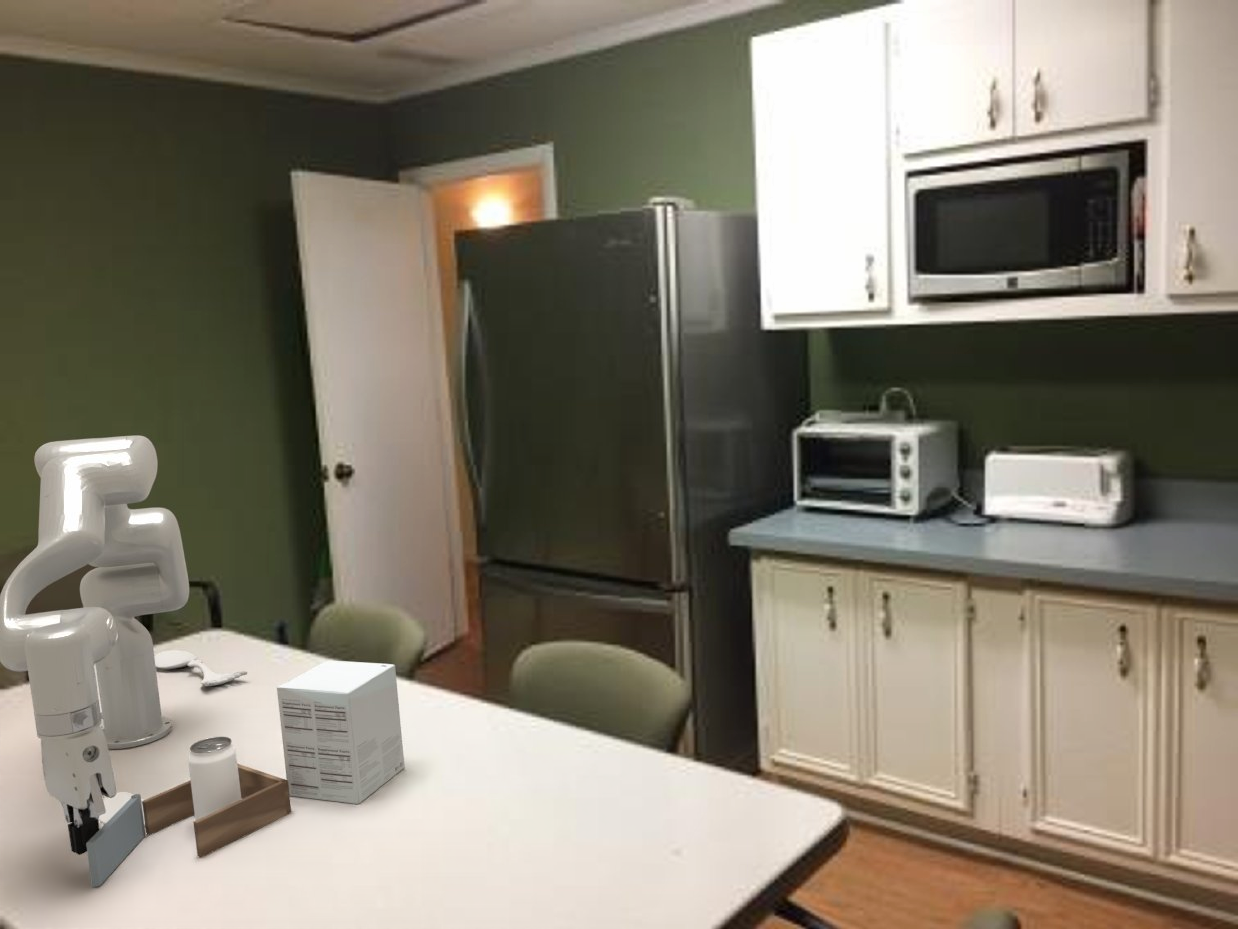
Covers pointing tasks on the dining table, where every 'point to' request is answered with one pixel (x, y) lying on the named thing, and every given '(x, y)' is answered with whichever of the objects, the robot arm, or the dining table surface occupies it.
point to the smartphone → (115, 805)
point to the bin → (222, 810)
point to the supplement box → (341, 730)
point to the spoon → (183, 658)
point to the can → (213, 775)
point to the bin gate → (115, 840)
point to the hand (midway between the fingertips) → (86, 848)
